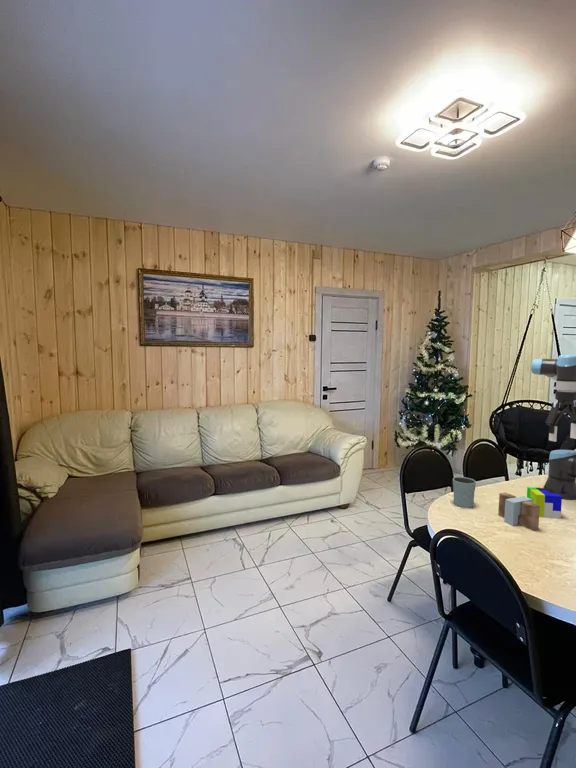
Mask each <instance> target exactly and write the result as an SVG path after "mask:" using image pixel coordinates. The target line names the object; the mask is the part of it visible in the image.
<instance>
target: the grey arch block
mask: <svg viewBox="0 0 576 768" xmlns="http://www.w3.org/2000/svg"><path fill="white" fill-rule="evenodd" d="M526 501H529V502H531V503H532V499H530V498H527V496H523V495H522V496H516V498H510V499H505V515H504V517H503V518H504V521H503V522H504V523H506V524H508V525H510V526H512V527H513V526H518V525H519V524H518V516H519V515H521V509H522V502H526Z"/></svg>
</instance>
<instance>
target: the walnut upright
mask: <svg viewBox="0 0 576 768" xmlns="http://www.w3.org/2000/svg"><path fill="white" fill-rule="evenodd" d="M498 495H499V496H498V513H497V514H498V516H500V517H502V518H504V515H505V499H510V498H516V497H517V496H516V495H512V494H510V493H508V492H500V493H499V494H498ZM539 512H540V506H539V505H537V504H534V503H531V502H529V501H526V502H522V509H521V515H519V516H518V525H519V526H521V527H524V528H525V529H528V530H530V531H537V530H539V524H540V517H539Z"/></svg>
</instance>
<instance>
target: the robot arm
mask: <svg viewBox="0 0 576 768" xmlns="http://www.w3.org/2000/svg"><path fill="white" fill-rule="evenodd" d="M530 370H531V373H532V374H533V375H538V376H545V377H547V378H550V379H552V380H553V381H555V382H556V383H555V390H556V391H555V396H554V397H555V398H554V399H555V400H557V402H551V407H550V410H549V412H548V416H546V417H547V418H546V420H545V425H546V426H548V441H550V442H554V443H555V442H557V435H558V434H557V433H558V426H557V425H558V422H559V421H560V420H561V418H562V416H563V415H565V414H567V415H568V417H569V418H570V420H571V423H570V434H569V435H570V436H569V438H570V439H575V440H576V354H563V355H562V354H561V355H559V356H557V358H536V359H533V361H532V362H531V365H530ZM542 488H548V489H552V490H554V491H555V492H556V493H558V494H559V495H561V496H562V500H576V450H572V449H555V450H551V451H550V453H549V458H548V474H547V479H546V481H545V483H544V485H543V487H542Z"/></svg>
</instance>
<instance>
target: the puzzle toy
mask: <svg viewBox="0 0 576 768" xmlns="http://www.w3.org/2000/svg"><path fill="white" fill-rule="evenodd" d="M526 489H527V490H526V497H527V498H530V499H532V503H534V504H537V505H539V506H540V512H539V518H550V519H561V515H562V505H563V504H562V502H563V499H562V496H561V495H559V494H558V493H556V492H555V491H554V490H552V489H548V488H543V487H533V486H532V487H531V486H527V487H526Z"/></svg>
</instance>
